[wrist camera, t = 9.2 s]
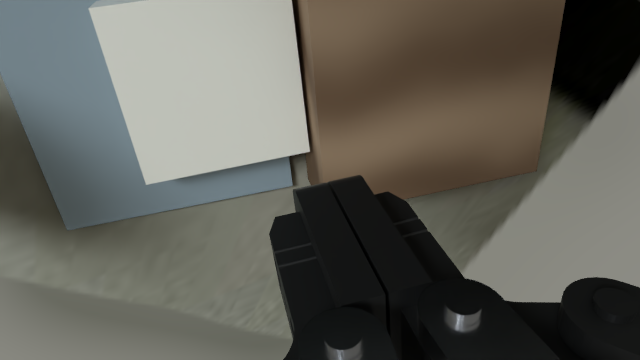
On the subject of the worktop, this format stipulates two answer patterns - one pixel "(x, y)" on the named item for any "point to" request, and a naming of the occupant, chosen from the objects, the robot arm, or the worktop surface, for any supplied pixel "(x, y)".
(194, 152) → the coaster
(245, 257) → the worktop surface
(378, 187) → the stand
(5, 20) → the mat
